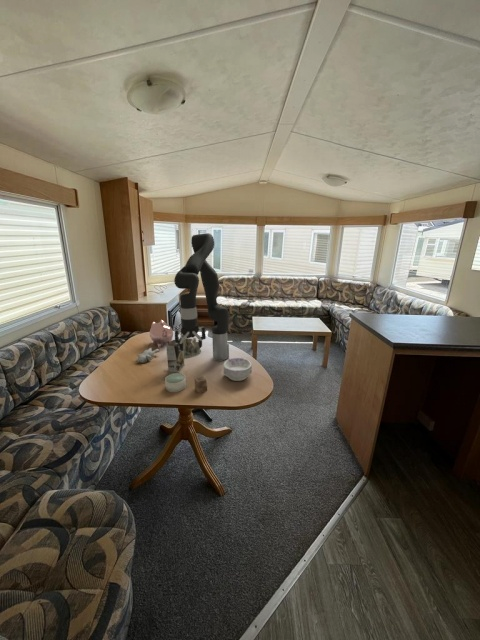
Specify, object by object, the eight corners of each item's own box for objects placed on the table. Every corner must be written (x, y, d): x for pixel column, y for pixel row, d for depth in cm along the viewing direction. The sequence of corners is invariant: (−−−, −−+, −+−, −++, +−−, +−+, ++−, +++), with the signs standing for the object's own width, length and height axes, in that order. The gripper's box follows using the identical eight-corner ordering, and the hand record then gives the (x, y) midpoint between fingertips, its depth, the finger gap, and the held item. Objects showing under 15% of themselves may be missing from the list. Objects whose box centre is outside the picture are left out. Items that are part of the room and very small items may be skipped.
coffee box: (178, 372, 146) (176, 346, 141) (168, 371, 147) (165, 345, 142) (185, 365, 154) (183, 340, 150) (175, 364, 156) (172, 339, 151)
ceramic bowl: (182, 379, 139) (181, 370, 137) (188, 388, 130) (188, 379, 129) (163, 384, 134) (162, 375, 132) (168, 394, 126) (167, 384, 124)
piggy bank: (166, 337, 199) (165, 317, 194) (177, 344, 186) (176, 323, 181) (147, 342, 189) (144, 321, 185) (157, 349, 176) (154, 327, 171)
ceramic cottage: (169, 357, 165) (169, 334, 161) (183, 348, 180) (183, 327, 176) (191, 361, 161) (192, 339, 156) (203, 352, 176) (204, 331, 171)
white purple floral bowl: (227, 386, 132) (226, 372, 130) (221, 372, 146) (220, 359, 144) (255, 381, 136) (255, 368, 134) (247, 368, 150) (247, 356, 148)
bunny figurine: (132, 356, 157) (147, 345, 170) (134, 364, 159) (149, 351, 172) (145, 358, 154) (160, 346, 167) (147, 366, 156) (161, 353, 169)
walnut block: (203, 386, 132) (203, 375, 131) (206, 390, 129) (206, 379, 127) (195, 388, 130) (194, 378, 128) (198, 393, 126) (197, 382, 125)
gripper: (202, 312, 126) (203, 344, 130) (172, 316, 121) (174, 348, 125) (206, 317, 119) (207, 349, 124) (174, 320, 114) (177, 354, 119)
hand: (191, 348), depth 125 cm, fingers open, 8 cm apart
